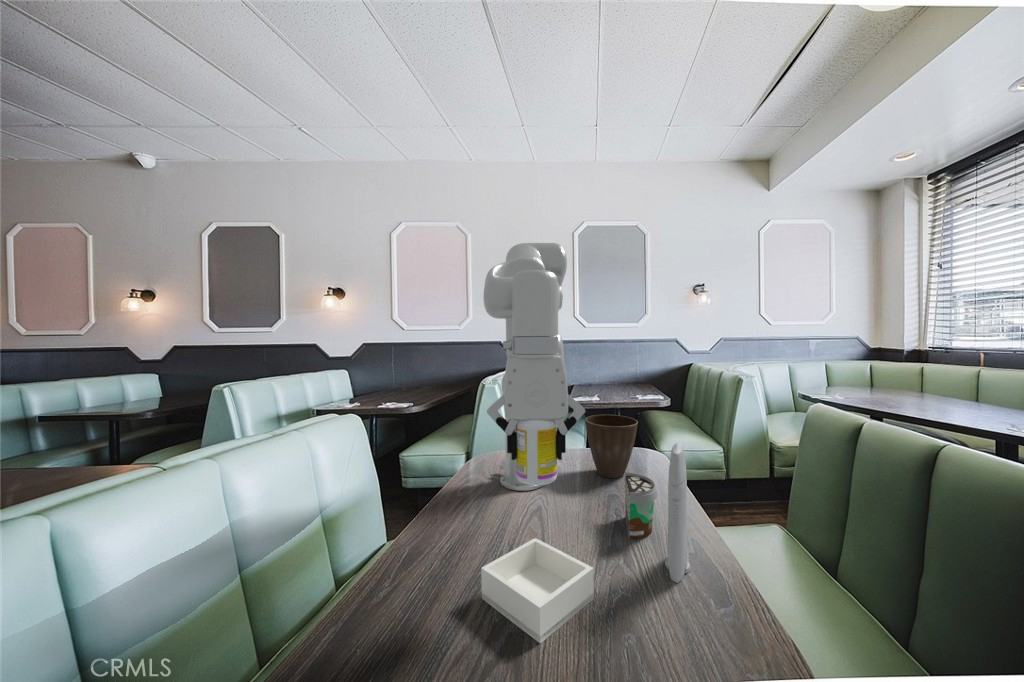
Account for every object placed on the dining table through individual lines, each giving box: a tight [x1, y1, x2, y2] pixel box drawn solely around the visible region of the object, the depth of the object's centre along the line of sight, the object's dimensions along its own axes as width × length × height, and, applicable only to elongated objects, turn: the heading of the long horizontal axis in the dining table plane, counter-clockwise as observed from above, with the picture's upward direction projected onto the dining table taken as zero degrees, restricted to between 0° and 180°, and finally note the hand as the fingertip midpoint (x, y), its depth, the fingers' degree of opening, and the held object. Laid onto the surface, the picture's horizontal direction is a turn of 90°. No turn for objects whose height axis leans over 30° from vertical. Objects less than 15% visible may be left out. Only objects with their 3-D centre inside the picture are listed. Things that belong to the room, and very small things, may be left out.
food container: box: [624, 471, 659, 540], centre depth 83 cm, size 12×6×10 cm, turn 168°
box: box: [480, 537, 595, 644], centre depth 62 cm, size 13×13×5 cm
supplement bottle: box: [516, 420, 558, 486], centre depth 64 cm, size 7×7×13 cm
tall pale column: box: [664, 442, 691, 584], centre depth 70 cm, size 11×4×22 cm, turn 153°
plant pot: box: [585, 414, 639, 479], centre depth 115 cm, size 15×15×16 cm
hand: (536, 456), depth 64 cm, fingers closed on supplement bottle, 6 cm apart
